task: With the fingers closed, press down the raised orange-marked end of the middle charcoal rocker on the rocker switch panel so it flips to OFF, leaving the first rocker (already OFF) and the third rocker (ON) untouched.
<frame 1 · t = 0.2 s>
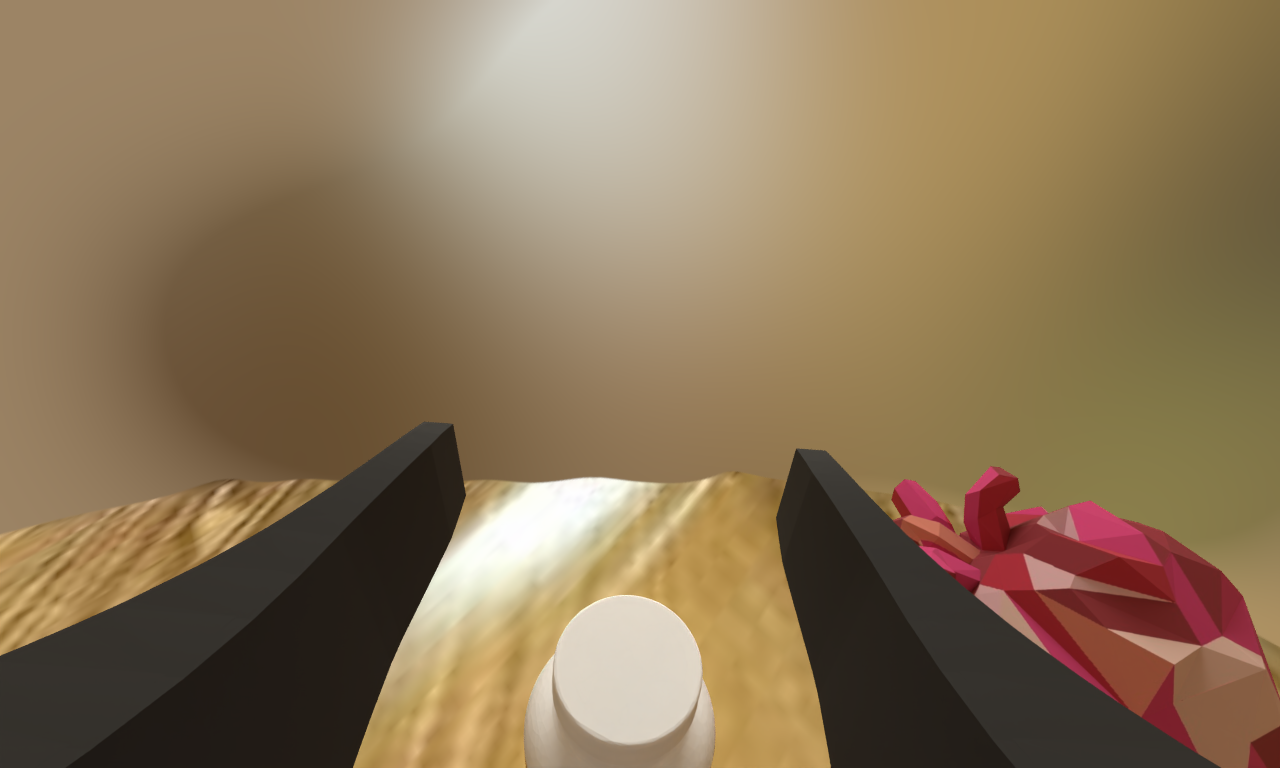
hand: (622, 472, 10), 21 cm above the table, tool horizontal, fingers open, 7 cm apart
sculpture: (994, 707, 28), on the table
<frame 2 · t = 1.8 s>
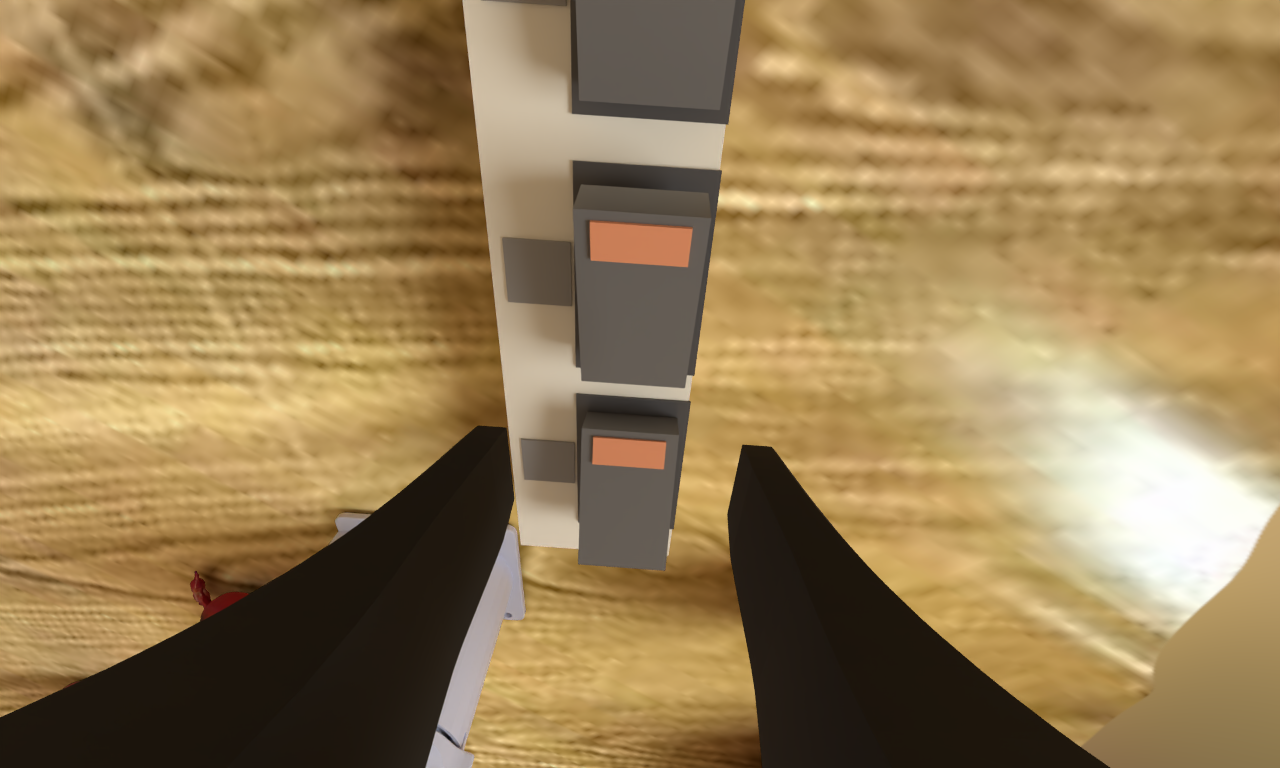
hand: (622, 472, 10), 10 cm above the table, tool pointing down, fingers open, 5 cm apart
rocker switch panel: (608, 243, 18), on the table
rocker 2: (638, 297, 14), point 5 cm above the table, hinge at 12.0°
decorative bird figurine: (194, 595, 31), on the table, touching arm
rocker 1: (626, 493, 18), point 5 cm above the table, hinge at -12.0°
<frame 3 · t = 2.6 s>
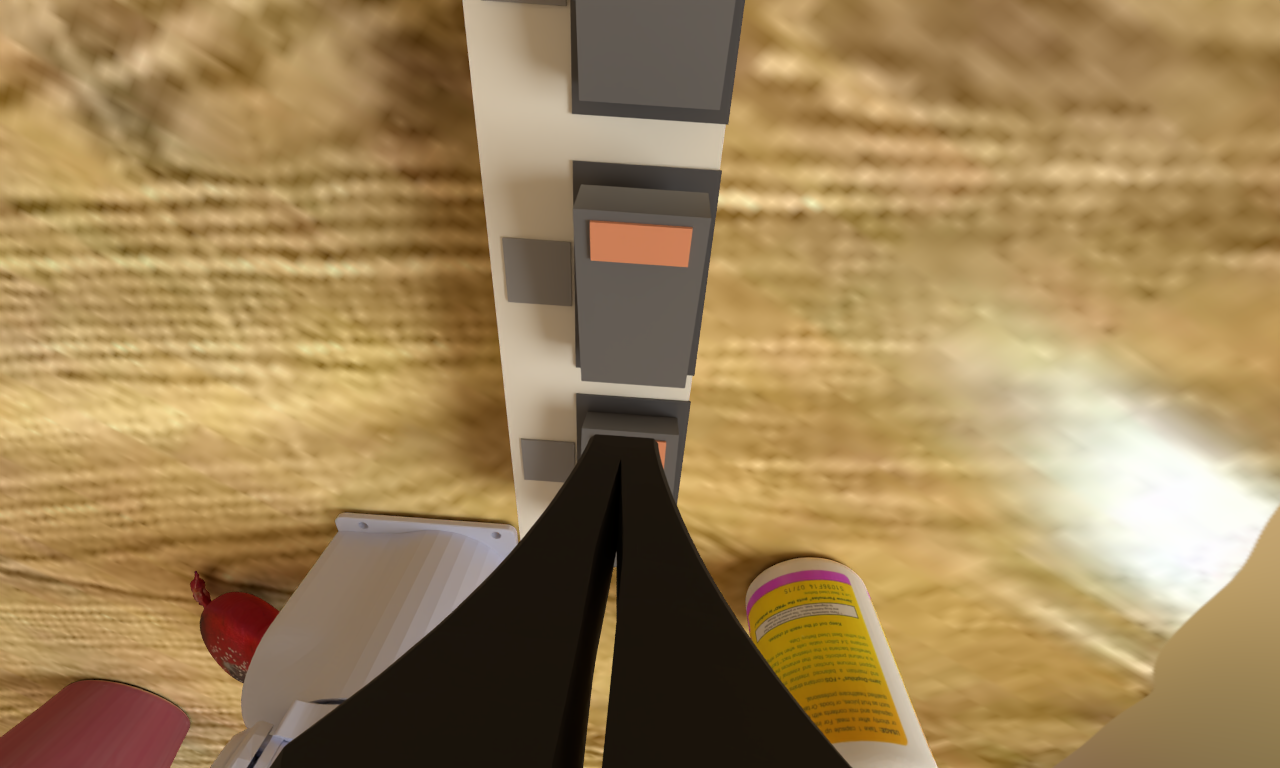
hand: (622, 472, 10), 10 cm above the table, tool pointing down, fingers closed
supplement bottle: (801, 587, 28), on the table
plant pot: (134, 705, 39), on the table
rocker switch panel: (608, 243, 18), on the table
rocker 2: (638, 297, 14), point 5 cm above the table, hinge at 12.0°
decorative bird figurine: (194, 595, 31), on the table, touching arm
rocker 1: (626, 493, 18), point 5 cm above the table, hinge at -12.0°
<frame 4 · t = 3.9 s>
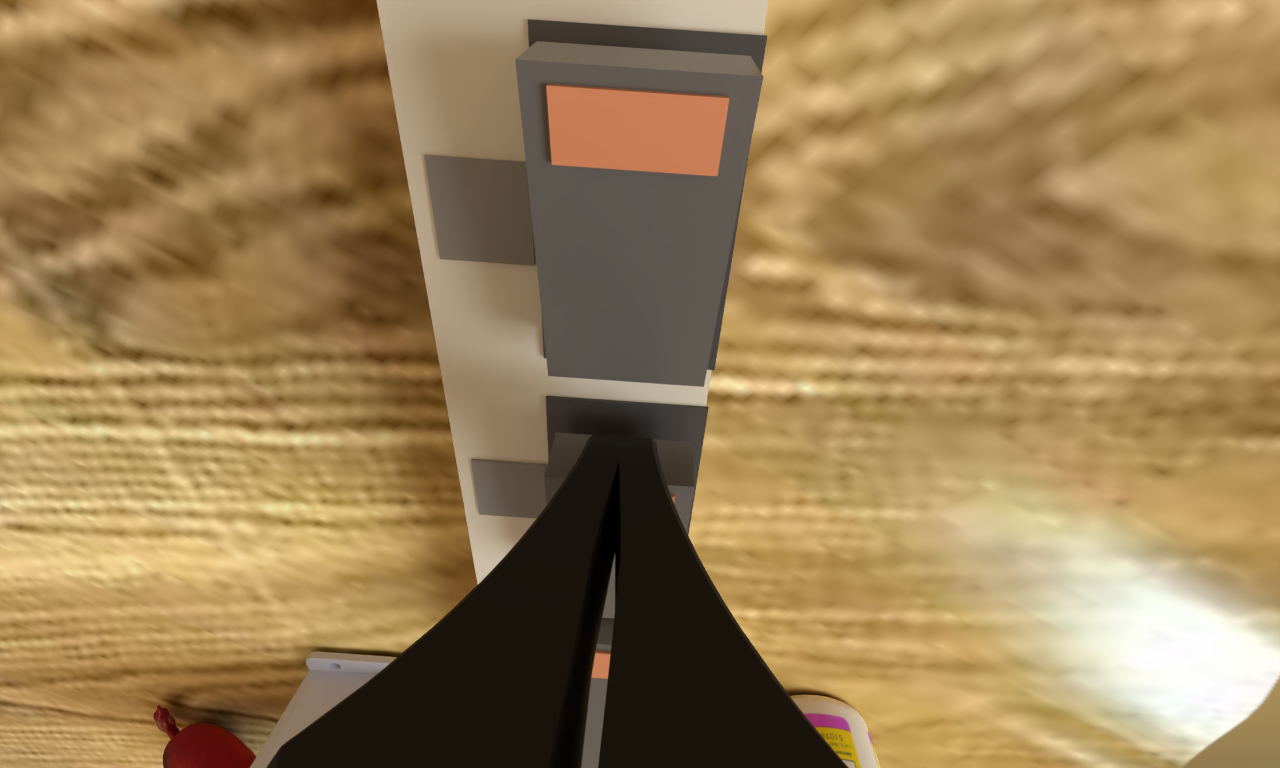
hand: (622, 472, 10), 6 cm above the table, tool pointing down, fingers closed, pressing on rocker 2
supplement bottle: (798, 717, 27), on the table
rocker switch panel: (591, 421, 17), on the table
rocker 2: (618, 536, 13), point 5 cm above the table, hinge at 4.9°, touching gripper
decorative bird figurine: (159, 719, 29), on the table, touching arm
rocker 3: (633, 242, 9), point 5 cm above the table, hinge at 12.0°
rocker 1: (609, 692, 16), point 5 cm above the table, hinge at -12.0°
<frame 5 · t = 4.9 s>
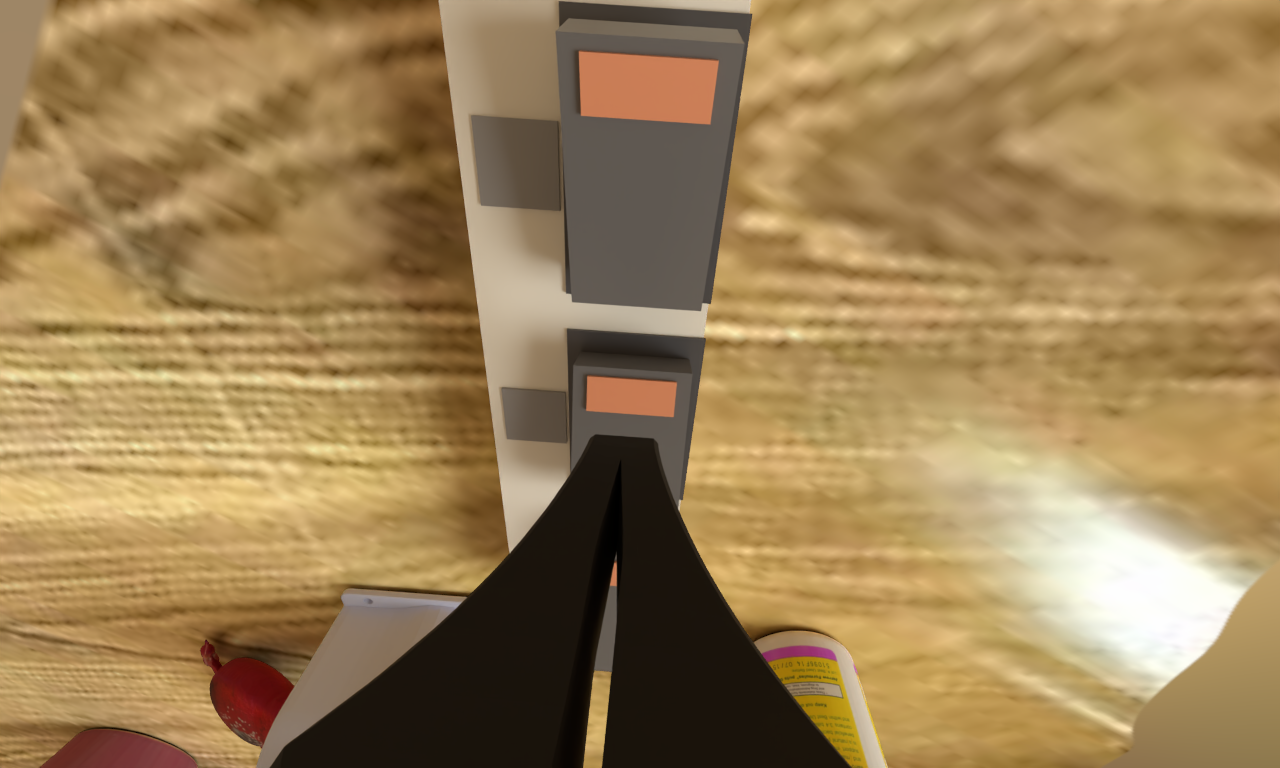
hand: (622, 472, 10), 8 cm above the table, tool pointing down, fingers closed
supplement bottle: (791, 654, 29), on the table
plant pot: (143, 750, 41), on the table
rocker switch panel: (602, 365, 19), on the table
rocker 2: (628, 450, 15), point 5 cm above the table, hinge at -12.9°
decorative bird figurine: (203, 657, 32), on the table, touching arm
rocker 3: (643, 184, 11), point 5 cm above the table, hinge at 12.0°
rocker 1: (619, 603, 19), point 5 cm above the table, hinge at -12.0°
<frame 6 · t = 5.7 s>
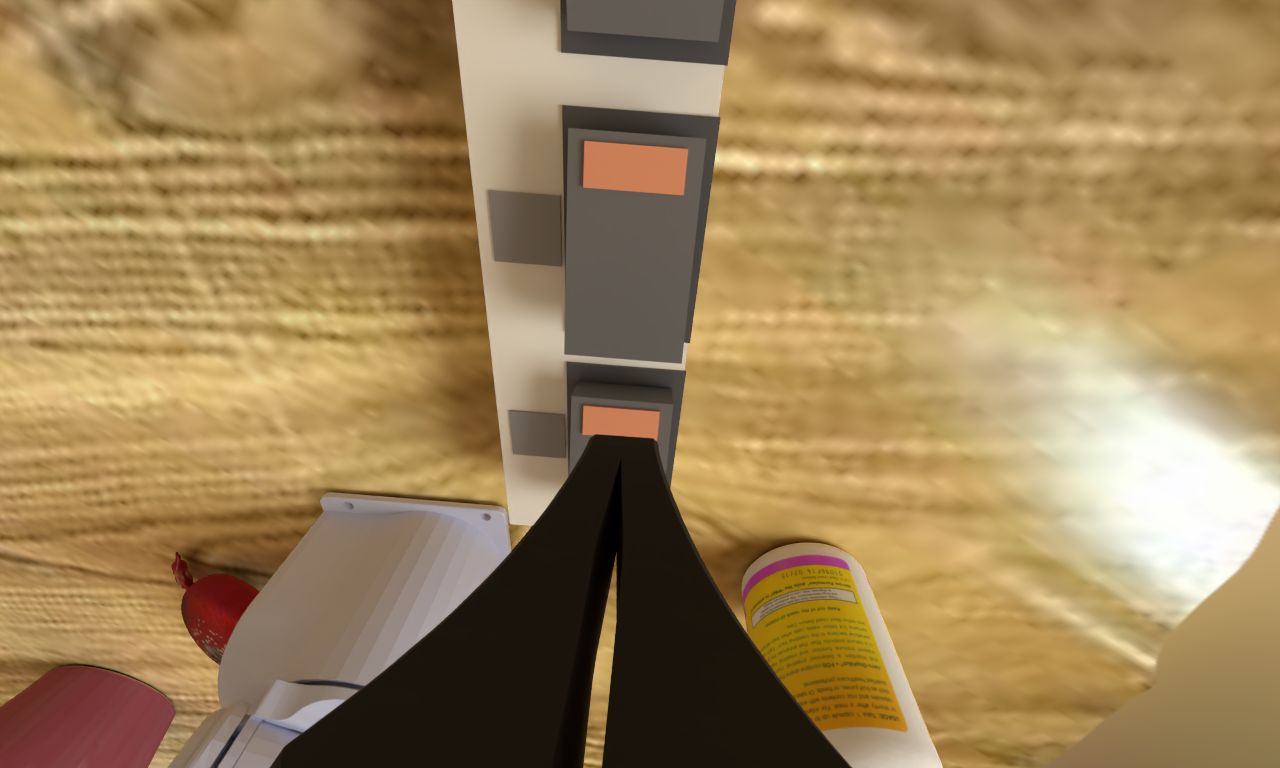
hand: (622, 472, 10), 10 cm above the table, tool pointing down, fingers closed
supplement bottle: (799, 574, 27), on the table
plant pot: (118, 692, 39), on the table
rocker switch panel: (602, 206, 17), on the table
rocker 2: (630, 252, 13), point 5 cm above the table, hinge at -10.7°
decorative bird figurine: (176, 578, 30), on the table, touching arm
rocker 1: (618, 466, 17), point 5 cm above the table, hinge at -12.0°
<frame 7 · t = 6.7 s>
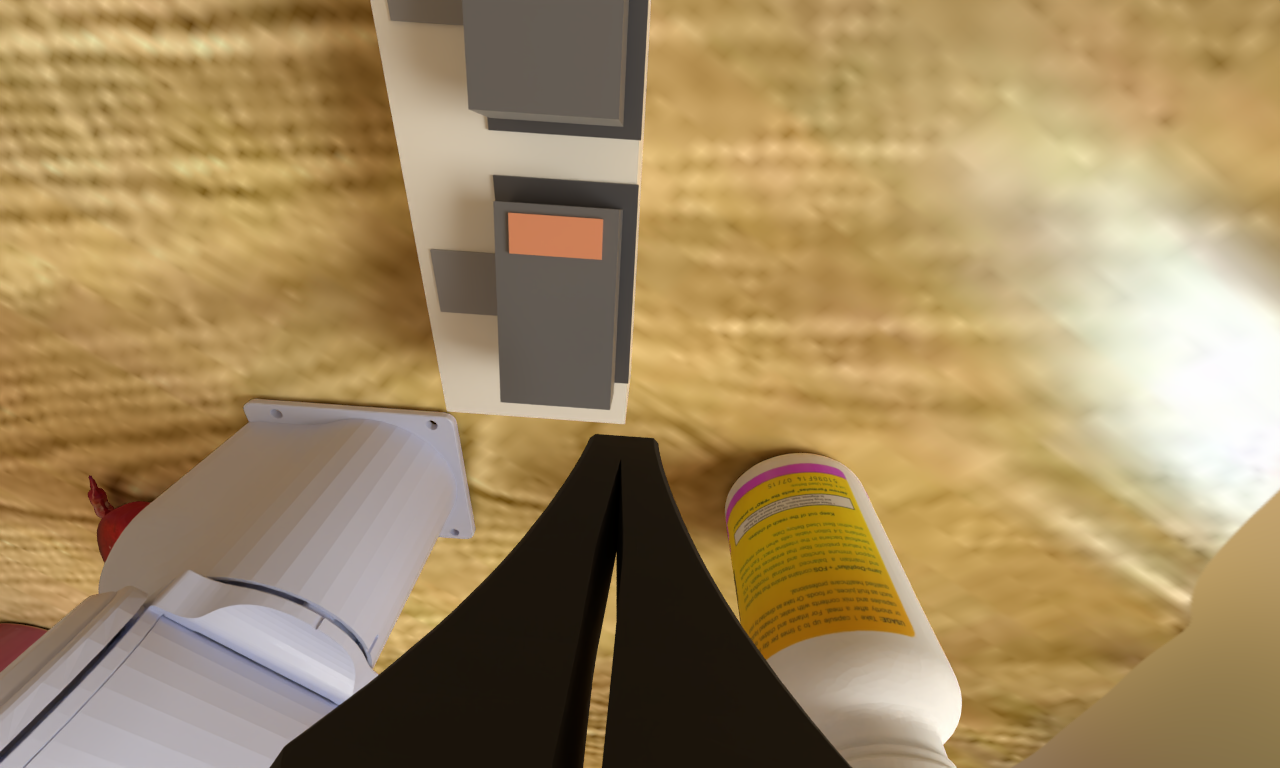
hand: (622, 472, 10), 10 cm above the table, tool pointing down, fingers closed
supplement bottle: (790, 495, 24), on the table
plant pot: (57, 655, 36), on the table
decorative bird figurine: (99, 513, 27), on the table, touching arm
rocker 1: (560, 308, 14), point 5 cm above the table, hinge at -12.0°
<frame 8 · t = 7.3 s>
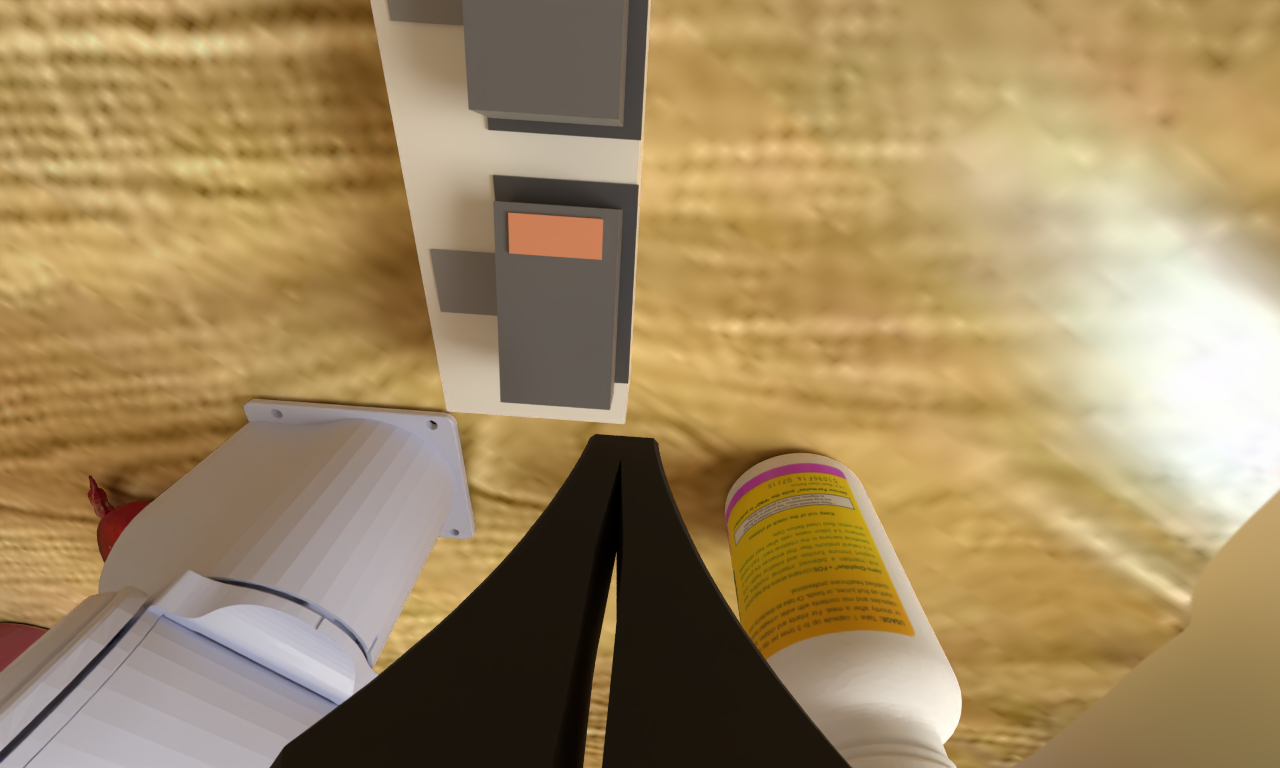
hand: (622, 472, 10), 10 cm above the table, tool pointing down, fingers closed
supplement bottle: (790, 495, 24), on the table
plant pot: (57, 655, 36), on the table
decorative bird figurine: (99, 513, 27), on the table, touching arm
rocker 1: (560, 308, 14), point 5 cm above the table, hinge at -12.0°
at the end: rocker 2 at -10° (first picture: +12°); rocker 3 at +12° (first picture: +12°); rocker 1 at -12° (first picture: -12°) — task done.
